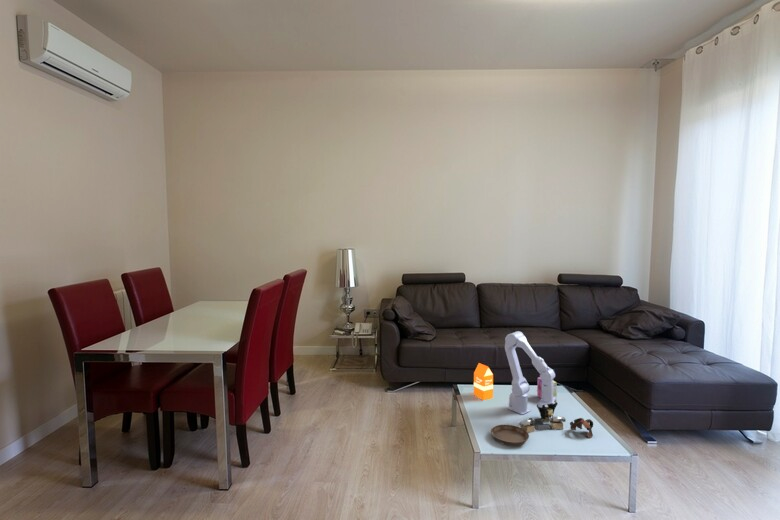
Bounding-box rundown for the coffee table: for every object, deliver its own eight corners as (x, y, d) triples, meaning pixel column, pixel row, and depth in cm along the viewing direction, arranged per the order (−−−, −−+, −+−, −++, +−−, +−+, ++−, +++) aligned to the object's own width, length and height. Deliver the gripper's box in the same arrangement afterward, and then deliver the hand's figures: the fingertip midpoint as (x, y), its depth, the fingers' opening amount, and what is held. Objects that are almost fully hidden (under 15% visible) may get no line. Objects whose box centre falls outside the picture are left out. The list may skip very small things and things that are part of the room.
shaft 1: (529, 426, 198) (529, 415, 197) (536, 430, 194) (536, 419, 193) (518, 430, 194) (518, 419, 194) (524, 433, 190) (524, 422, 190)
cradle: (537, 430, 194) (537, 425, 193) (530, 423, 201) (530, 418, 200) (549, 429, 195) (549, 424, 195) (541, 422, 202) (541, 417, 202)
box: (536, 396, 235) (537, 377, 235) (544, 395, 237) (545, 376, 237) (548, 403, 226) (549, 383, 225) (556, 401, 227) (557, 382, 227)
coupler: (540, 418, 206) (540, 407, 206) (544, 416, 209) (544, 405, 208) (549, 422, 202) (549, 411, 201) (553, 420, 204) (554, 409, 204)
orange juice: (483, 400, 229) (483, 368, 228) (473, 395, 237) (473, 363, 236) (493, 398, 233) (493, 365, 232) (483, 393, 241) (483, 361, 240)
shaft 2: (550, 428, 195) (550, 418, 195) (547, 424, 199) (547, 414, 199) (566, 429, 195) (566, 418, 194) (562, 425, 199) (563, 414, 199)
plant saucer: (489, 428, 196) (489, 422, 196) (525, 431, 194) (525, 425, 193) (492, 447, 179) (492, 440, 179) (532, 450, 176) (532, 443, 176)
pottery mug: (586, 441, 184) (577, 424, 186) (572, 441, 192) (563, 425, 194) (602, 430, 189) (593, 413, 191) (588, 430, 197) (579, 414, 199)
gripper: (546, 397, 197) (546, 423, 198) (561, 391, 205) (561, 415, 206) (534, 393, 203) (534, 418, 203) (549, 387, 211) (549, 411, 212)
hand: (547, 416), depth 205 cm, fingers open, 7 cm apart
